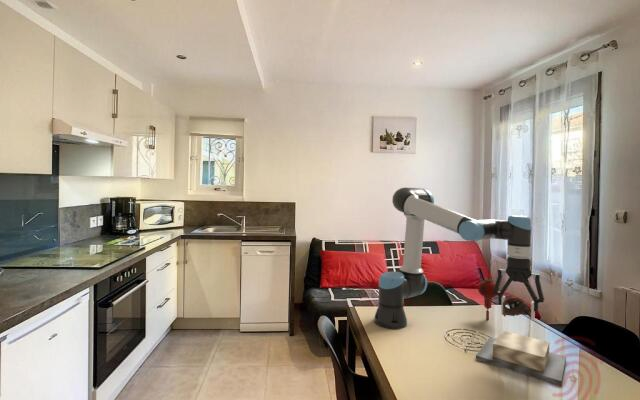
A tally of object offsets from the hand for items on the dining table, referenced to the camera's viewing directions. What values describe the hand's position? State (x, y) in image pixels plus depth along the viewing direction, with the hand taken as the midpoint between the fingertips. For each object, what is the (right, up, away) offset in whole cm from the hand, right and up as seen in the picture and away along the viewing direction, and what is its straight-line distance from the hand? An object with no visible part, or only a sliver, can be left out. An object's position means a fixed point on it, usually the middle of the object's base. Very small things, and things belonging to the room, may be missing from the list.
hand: (517, 316), depth 126 cm
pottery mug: (0, 0, +1) cm, 1 cm away
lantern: (+9, -16, +41) cm, 45 cm away
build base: (+1, -16, 0) cm, 16 cm away
